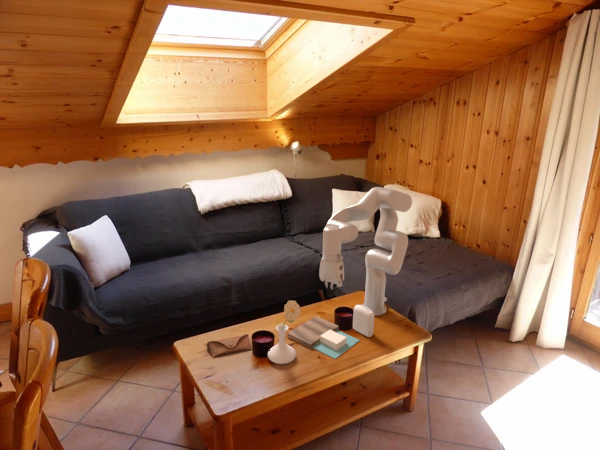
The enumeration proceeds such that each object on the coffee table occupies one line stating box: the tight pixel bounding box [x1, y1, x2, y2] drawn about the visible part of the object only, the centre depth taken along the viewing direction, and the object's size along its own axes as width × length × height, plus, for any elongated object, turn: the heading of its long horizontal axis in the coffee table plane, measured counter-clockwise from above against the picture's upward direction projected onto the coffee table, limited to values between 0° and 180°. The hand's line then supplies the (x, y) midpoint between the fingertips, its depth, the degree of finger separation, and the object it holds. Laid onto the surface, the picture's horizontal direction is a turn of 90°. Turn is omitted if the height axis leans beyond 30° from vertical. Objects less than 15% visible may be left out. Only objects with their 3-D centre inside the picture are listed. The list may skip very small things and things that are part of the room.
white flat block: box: [320, 330, 347, 350], centre depth 174 cm, size 7×9×3 cm
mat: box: [311, 330, 361, 360], centre depth 174 cm, size 18×12×1 cm, turn 139°
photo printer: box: [352, 304, 375, 338], centre depth 182 cm, size 10×4×12 cm, turn 39°
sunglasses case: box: [206, 333, 253, 359], centre depth 169 cm, size 18×7×7 cm, turn 114°
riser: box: [287, 315, 340, 349], centre depth 181 cm, size 20×13×2 cm, turn 139°
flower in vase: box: [267, 300, 302, 365], centre depth 160 cm, size 13×11×25 cm
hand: (330, 295), depth 173 cm, fingers closed
